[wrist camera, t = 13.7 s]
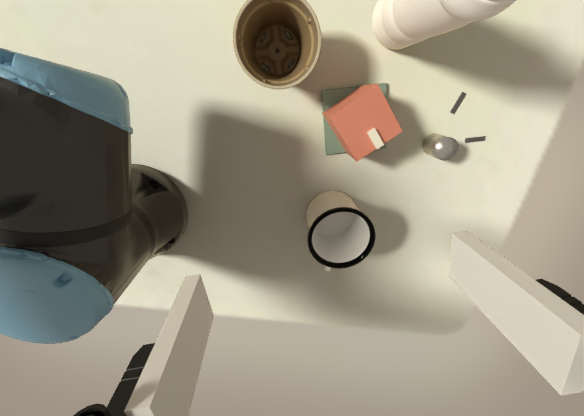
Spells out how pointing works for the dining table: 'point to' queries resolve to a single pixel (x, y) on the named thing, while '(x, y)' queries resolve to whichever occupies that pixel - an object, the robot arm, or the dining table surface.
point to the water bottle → (427, 18)
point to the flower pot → (277, 41)
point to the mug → (338, 231)
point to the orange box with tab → (363, 121)
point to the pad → (328, 101)
